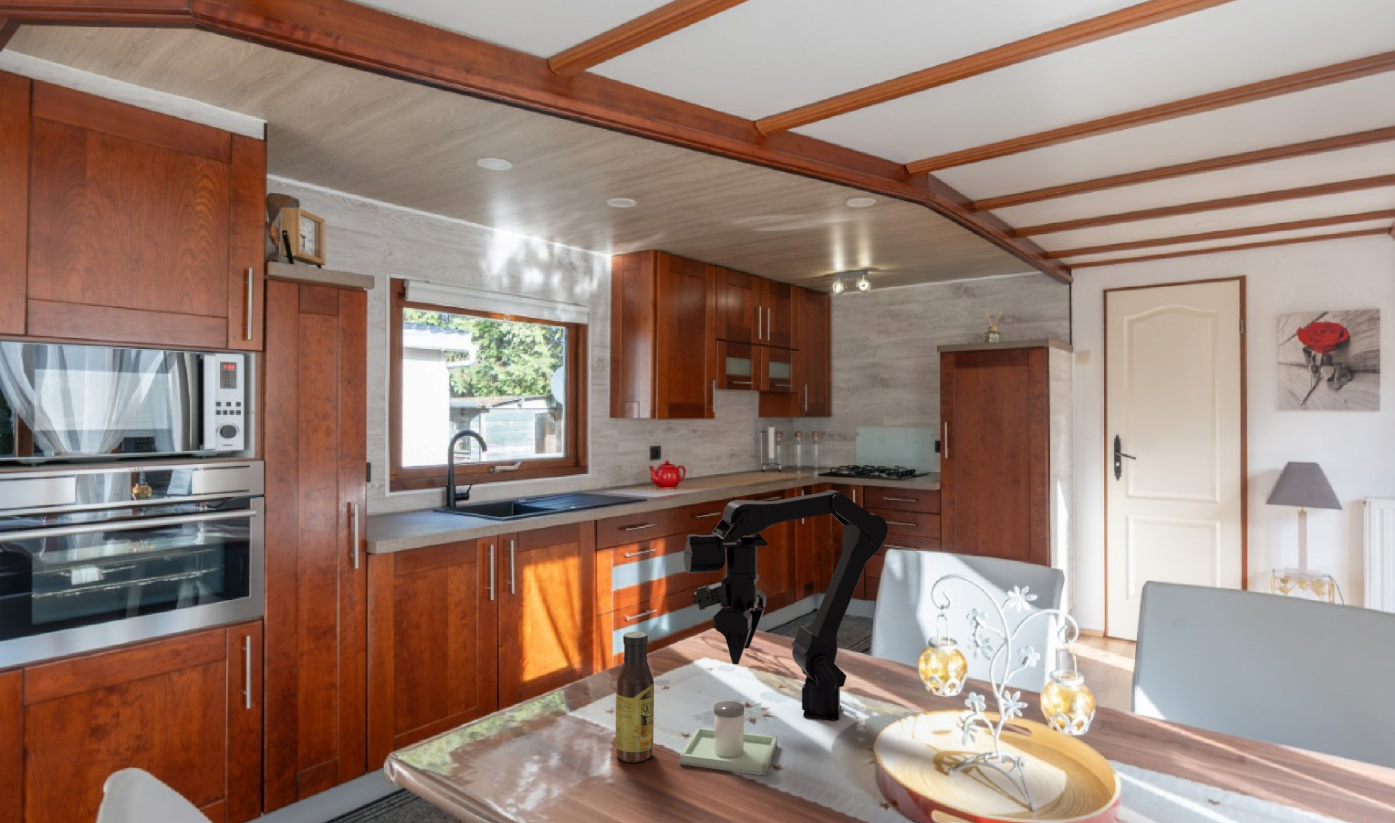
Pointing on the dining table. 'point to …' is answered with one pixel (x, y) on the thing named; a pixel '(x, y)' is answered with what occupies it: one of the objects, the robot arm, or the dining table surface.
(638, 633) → the sauce bottle
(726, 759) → the tray
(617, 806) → the dining table surface
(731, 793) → the dining table surface
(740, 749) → the spice jar
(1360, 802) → the dining table surface
